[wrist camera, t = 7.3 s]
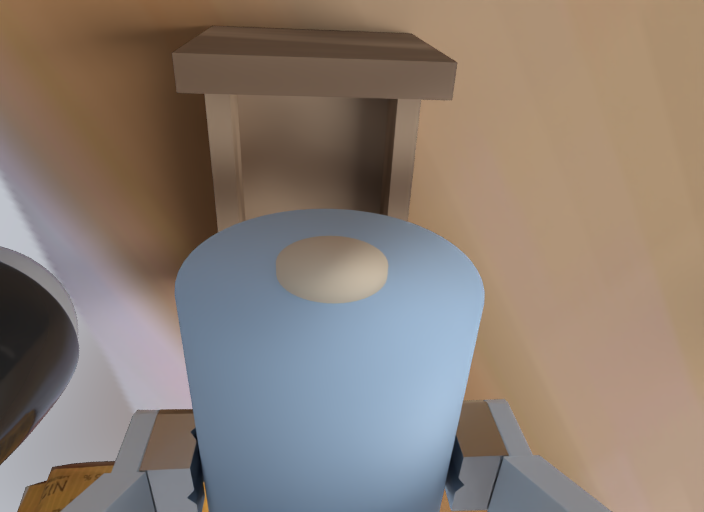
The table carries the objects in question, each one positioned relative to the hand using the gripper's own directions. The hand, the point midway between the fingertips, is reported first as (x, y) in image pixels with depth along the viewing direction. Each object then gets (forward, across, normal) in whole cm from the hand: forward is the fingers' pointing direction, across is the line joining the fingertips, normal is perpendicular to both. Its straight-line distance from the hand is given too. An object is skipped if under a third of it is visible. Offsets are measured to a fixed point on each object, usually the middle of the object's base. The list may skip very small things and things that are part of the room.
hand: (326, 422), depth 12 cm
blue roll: (+2, 0, 0) cm, 2 cm away
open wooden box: (+17, 0, 0) cm, 17 cm away
